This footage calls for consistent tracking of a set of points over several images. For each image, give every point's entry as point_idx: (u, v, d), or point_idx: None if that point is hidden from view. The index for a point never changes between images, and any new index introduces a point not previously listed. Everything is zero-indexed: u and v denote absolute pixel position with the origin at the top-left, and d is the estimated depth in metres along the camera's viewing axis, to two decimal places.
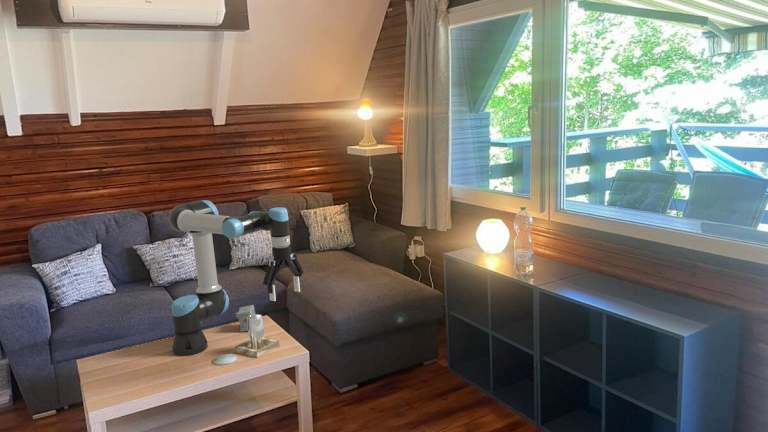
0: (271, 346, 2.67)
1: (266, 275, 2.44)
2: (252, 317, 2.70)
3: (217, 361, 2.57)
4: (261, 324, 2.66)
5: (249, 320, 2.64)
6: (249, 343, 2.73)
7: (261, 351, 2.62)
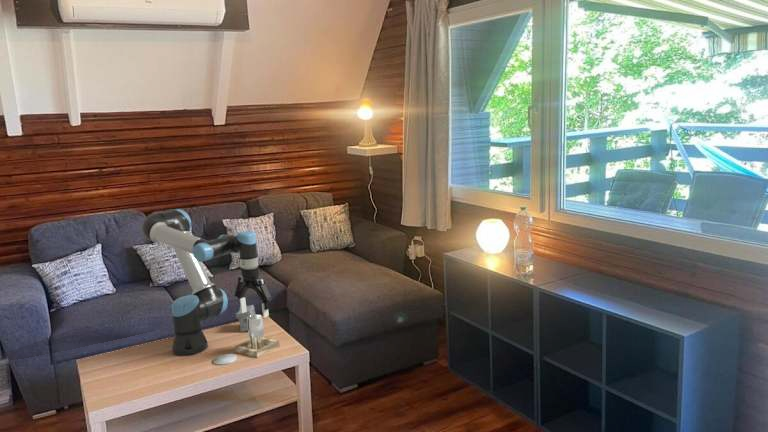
0: (271, 346, 2.67)
1: None
2: (252, 317, 2.70)
3: (217, 361, 2.57)
4: (261, 324, 2.66)
5: (249, 320, 2.64)
6: (249, 343, 2.73)
7: (261, 351, 2.62)
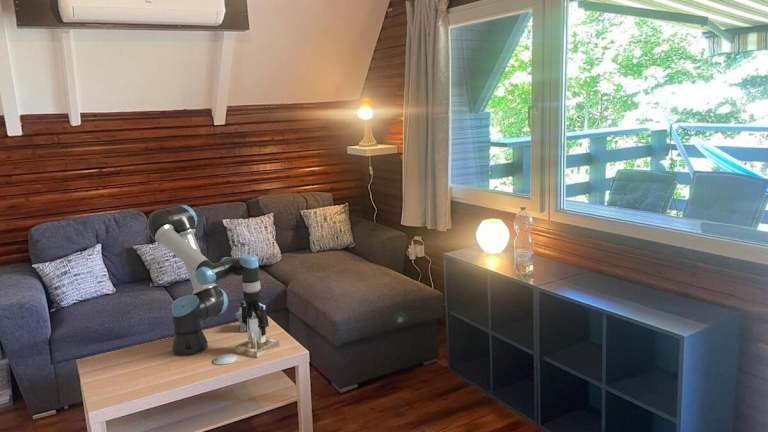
0: (271, 346, 2.67)
1: None
2: (252, 317, 2.70)
3: (217, 361, 2.57)
4: None
5: (249, 320, 2.64)
6: (249, 343, 2.73)
7: (261, 351, 2.62)
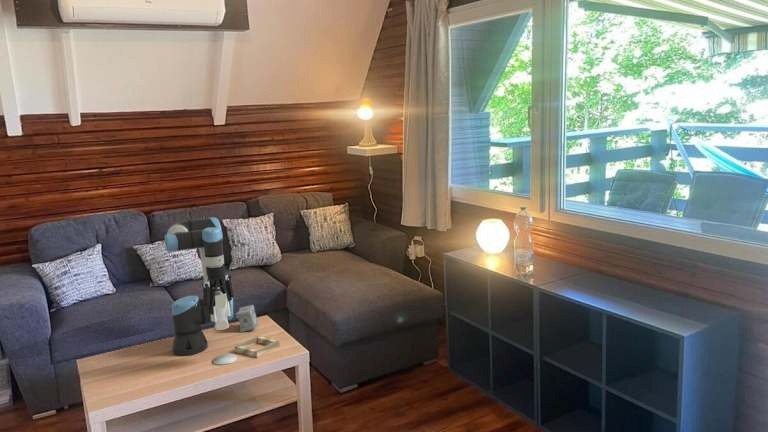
0: (271, 346, 2.67)
1: (204, 297, 2.49)
2: None
3: (217, 361, 2.57)
4: None
5: (224, 295, 2.53)
6: (249, 343, 2.73)
7: (261, 351, 2.62)
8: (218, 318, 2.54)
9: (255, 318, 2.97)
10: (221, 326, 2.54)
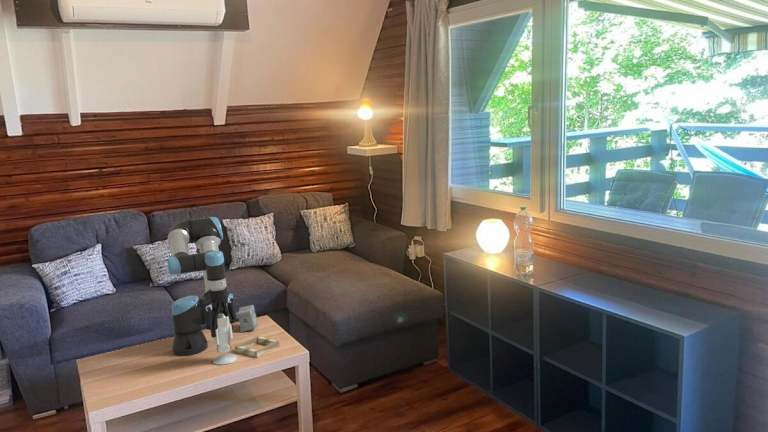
0: (271, 346, 2.67)
1: (207, 320, 2.51)
2: None
3: (217, 361, 2.57)
4: None
5: (226, 318, 2.55)
6: (249, 343, 2.73)
7: (261, 351, 2.62)
8: (220, 341, 2.55)
9: (255, 318, 2.97)
10: (223, 349, 2.56)
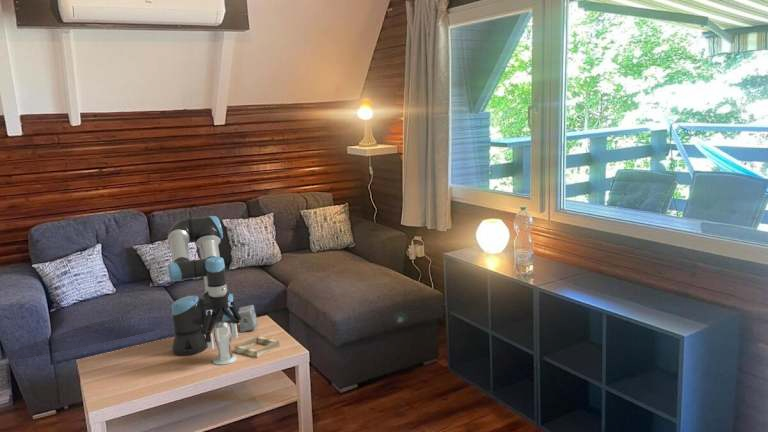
0: (271, 346, 2.67)
1: (203, 324, 2.50)
2: None
3: (217, 361, 2.57)
4: None
5: (227, 327, 2.56)
6: (249, 343, 2.73)
7: (261, 351, 2.62)
8: (221, 350, 2.56)
9: (255, 318, 2.97)
10: (225, 357, 2.57)
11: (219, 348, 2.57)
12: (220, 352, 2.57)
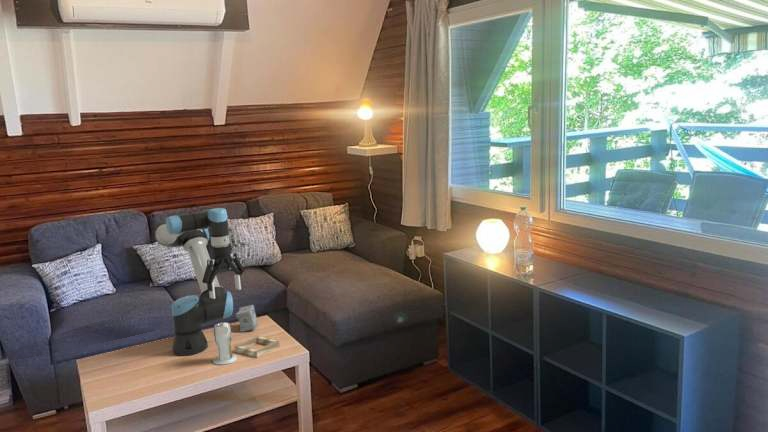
0: (271, 346, 2.67)
1: (205, 273, 2.53)
2: None
3: (217, 361, 2.57)
4: None
5: (227, 327, 2.56)
6: (249, 343, 2.73)
7: (261, 351, 2.62)
8: (222, 350, 2.56)
9: (255, 318, 2.97)
10: (225, 358, 2.57)
11: (219, 348, 2.57)
12: (220, 352, 2.57)
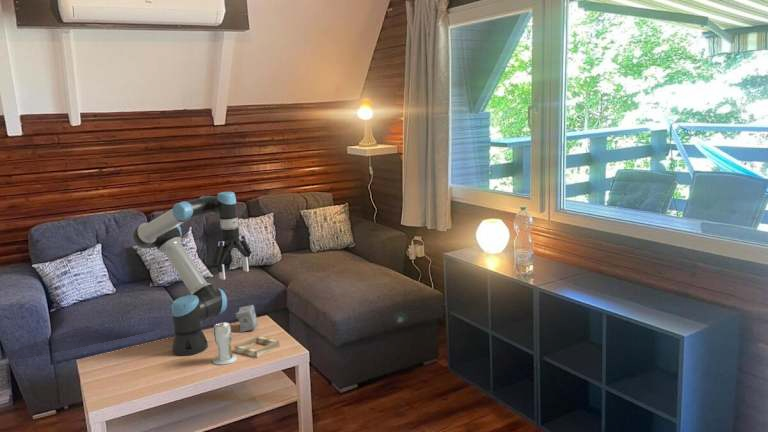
0: (271, 346, 2.67)
1: (216, 255, 2.61)
2: None
3: (217, 361, 2.57)
4: None
5: (227, 327, 2.56)
6: (249, 343, 2.73)
7: (261, 351, 2.62)
8: (222, 350, 2.56)
9: (255, 318, 2.97)
10: (225, 358, 2.57)
11: (219, 348, 2.57)
12: (220, 352, 2.57)
